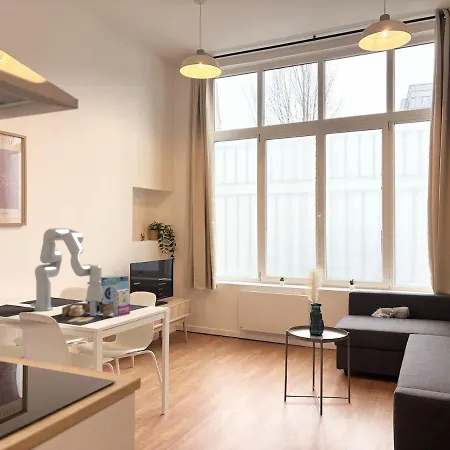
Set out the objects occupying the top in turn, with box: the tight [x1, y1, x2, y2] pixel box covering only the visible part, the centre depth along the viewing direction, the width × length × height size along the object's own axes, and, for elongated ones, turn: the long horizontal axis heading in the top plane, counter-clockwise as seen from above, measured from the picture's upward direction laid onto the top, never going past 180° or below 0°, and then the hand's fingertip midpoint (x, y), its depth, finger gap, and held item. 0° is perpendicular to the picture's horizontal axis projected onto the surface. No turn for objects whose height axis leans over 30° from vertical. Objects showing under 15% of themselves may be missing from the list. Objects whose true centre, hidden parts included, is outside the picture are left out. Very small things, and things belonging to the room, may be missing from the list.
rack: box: [61, 302, 113, 318], centre depth 308 cm, size 28×18×6 cm, turn 86°
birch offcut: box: [70, 305, 83, 312], centre depth 308 cm, size 6×8×3 cm
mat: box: [67, 316, 95, 323], centre depth 290 cm, size 12×13×1 cm
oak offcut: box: [68, 310, 85, 317], centre depth 308 cm, size 7×9×3 cm
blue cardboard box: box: [100, 274, 129, 304], centre depth 333 cm, size 20×5×23 cm, turn 123°
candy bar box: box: [112, 288, 131, 317], centre depth 308 cm, size 11×5×16 cm, turn 148°
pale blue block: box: [89, 301, 101, 317], centre depth 308 cm, size 4×10×9 cm, turn 176°
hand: (94, 311), depth 308 cm, fingers closed on pale blue block, 3 cm apart
